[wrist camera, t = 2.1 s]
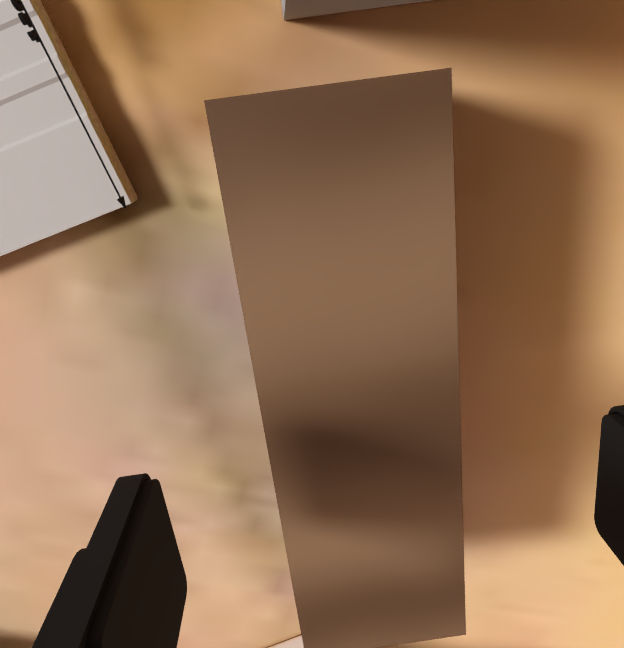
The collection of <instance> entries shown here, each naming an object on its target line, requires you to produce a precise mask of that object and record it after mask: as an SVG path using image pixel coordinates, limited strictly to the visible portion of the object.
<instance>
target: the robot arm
mask: <svg viewBox="0 0 624 648" xmlns="http://www.w3.org/2000/svg"><path fill="white" fill-rule="evenodd" d="M594 520H595V525H596V528H597V530H598V532H599V534H600V535H601V537H602V538H603V539H604V541H605V542H606V543H607V545H608V546H609V547H610V549H611V550H612V551H613V552H614V554H615V555H616V556H617V558H618V559H619V560H620V562H621V563H622V564H623V565H624V405H621V406H614V407H612V408H611V409H610V411H609V414H608V415H605V416H604V417H603V418H602V424H601V437H600V450H599V462H598V475H597V488H596V500H595V513H594ZM186 594H187V581H186V575H185V571H184V568H183V564H182V561H181V557H180V553H179V550H178V546H177V543H176V539H175V535H174V532H173V528H172V525H171V521H170V517H169V514H168V510H167V507H166V503H165V500H164V496H163V492H162V489H161V485H160V482H159V481H158V480H157V479H153V480H151V479H150V477H149V475H148V474H146V473H145V474H138V475H131V476H124V477H119V478H118V479H117V481H116V483H115V485H114V487H113V489H112V492H111V494H110V496H109V499H108V501H107V503H106V505H105V508H104V510H103V512H102V514H101V517H100V519H99V521H98V523H97V526H96V528H95V530H94V532H93V535H92V537H91V539H90V541H89V544H88V546H87V548H85V549H81V550H79V551H78V552H77V553H76V555H75V556H74V558H73V560H72V562H71V564H70V567H69V569H68V571H67V573H66V575H65V577H64V580H63V582H62V584H61V586H60V588H59V590H58V593H57V595H56V597H55V599H54V601H53V603H52V606H51V608H50V610H49V612H48V614H47V616H46V618H45V621H44V623H43V625H42V627H41V629H40V631H39V634H38V636H37V638H36V640H35V642H34V644H33V647H32V648H177V642H178V637H179V632H180V626H181V621H182V616H183V611H184V605H185V600H186Z"/></svg>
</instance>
